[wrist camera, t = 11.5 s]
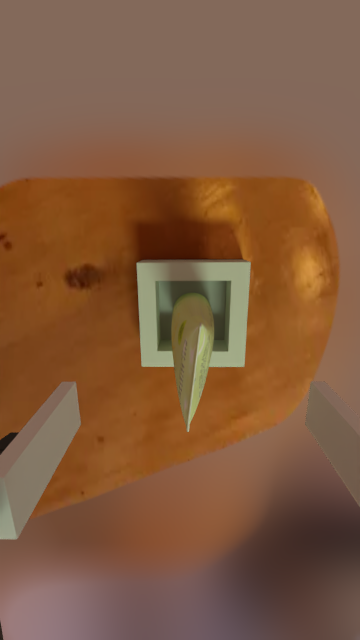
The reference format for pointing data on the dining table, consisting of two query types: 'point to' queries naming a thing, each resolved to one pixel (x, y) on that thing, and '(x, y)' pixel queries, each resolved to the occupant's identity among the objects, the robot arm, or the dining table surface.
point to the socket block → (203, 278)
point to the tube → (191, 349)
